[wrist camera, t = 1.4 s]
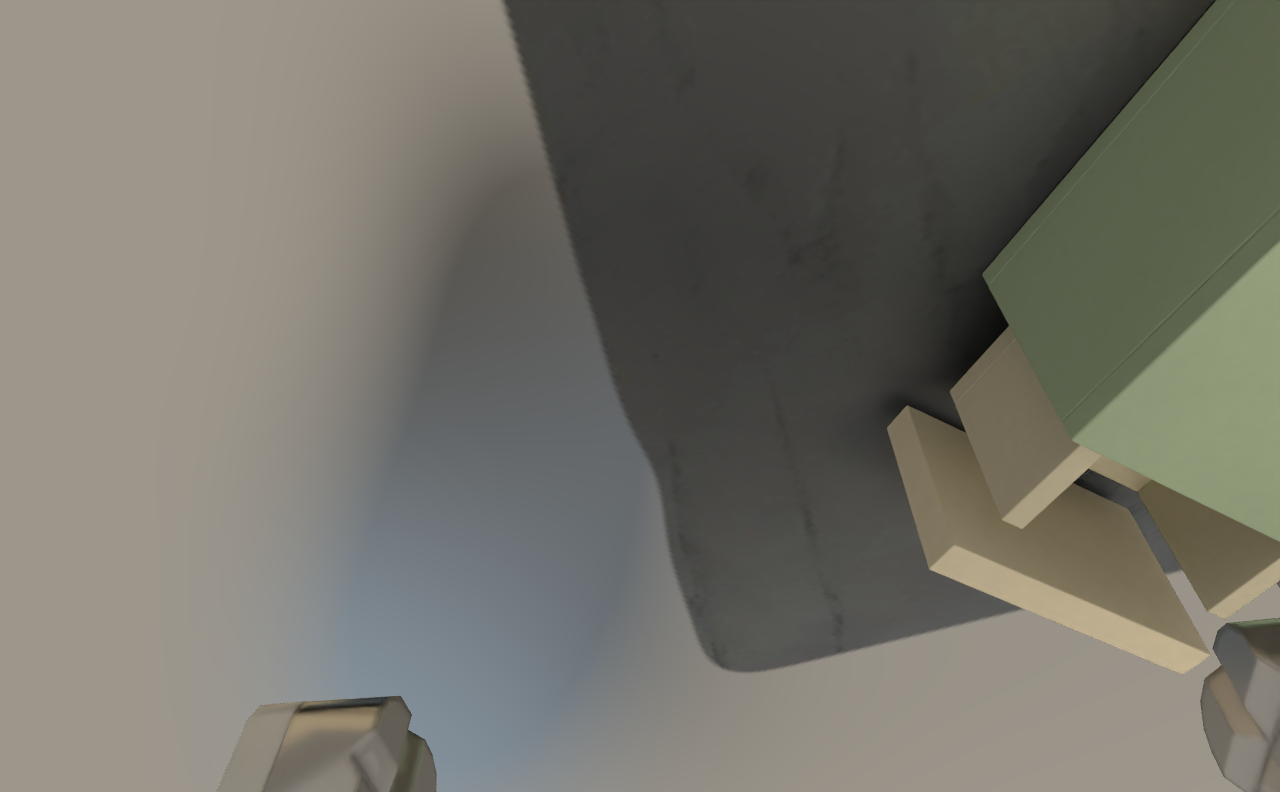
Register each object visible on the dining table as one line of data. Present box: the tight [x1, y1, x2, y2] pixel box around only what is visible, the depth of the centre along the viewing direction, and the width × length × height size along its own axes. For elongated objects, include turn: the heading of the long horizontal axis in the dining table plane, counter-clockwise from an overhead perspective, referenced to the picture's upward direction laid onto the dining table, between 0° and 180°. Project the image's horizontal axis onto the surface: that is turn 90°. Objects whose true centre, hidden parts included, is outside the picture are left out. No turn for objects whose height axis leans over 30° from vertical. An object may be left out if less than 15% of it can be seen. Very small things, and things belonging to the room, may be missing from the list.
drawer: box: [887, 326, 1280, 675], centre depth 30 cm, size 13×10×7 cm
